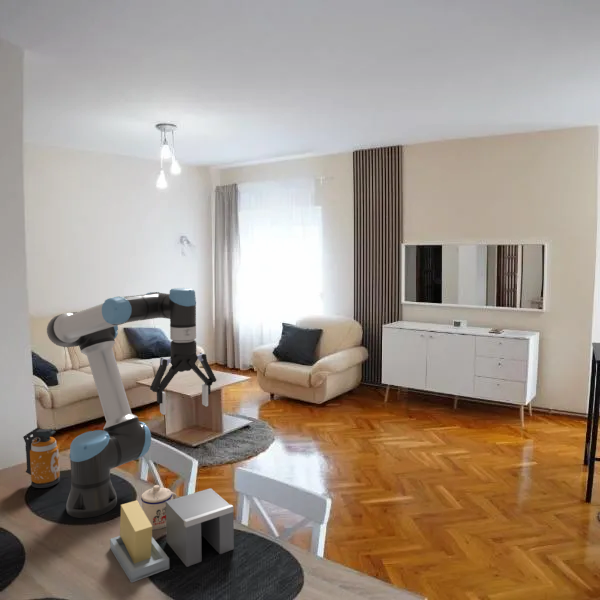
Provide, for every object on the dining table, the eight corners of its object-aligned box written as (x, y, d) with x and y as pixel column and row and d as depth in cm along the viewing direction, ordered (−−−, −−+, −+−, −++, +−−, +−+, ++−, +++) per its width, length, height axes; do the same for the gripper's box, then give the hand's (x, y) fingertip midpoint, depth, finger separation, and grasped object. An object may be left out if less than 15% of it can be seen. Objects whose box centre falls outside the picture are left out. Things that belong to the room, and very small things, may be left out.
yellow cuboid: (120, 535, 148) (120, 504, 145) (135, 530, 150) (137, 500, 148) (134, 563, 138) (135, 531, 136) (150, 557, 141) (152, 526, 138)
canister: (52, 490, 180) (49, 433, 178) (20, 489, 180) (17, 433, 178) (64, 478, 189) (61, 424, 187) (33, 477, 189) (31, 424, 187)
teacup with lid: (154, 534, 154) (153, 496, 152) (135, 524, 159) (134, 487, 158) (186, 517, 163) (185, 481, 162) (167, 508, 169) (166, 473, 167)
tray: (110, 548, 146) (110, 538, 146) (145, 536, 152) (145, 527, 152) (131, 582, 132) (131, 572, 132) (169, 568, 138) (169, 558, 137)
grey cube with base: (166, 542, 150) (165, 500, 148) (211, 526, 158) (210, 486, 156) (186, 566, 138) (185, 521, 137) (233, 549, 147) (233, 506, 145)
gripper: (146, 346, 146) (148, 420, 149) (226, 337, 161) (227, 405, 163) (137, 342, 152) (139, 413, 155) (215, 334, 167) (216, 399, 169)
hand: (184, 409), depth 159 cm, fingers open, 13 cm apart
